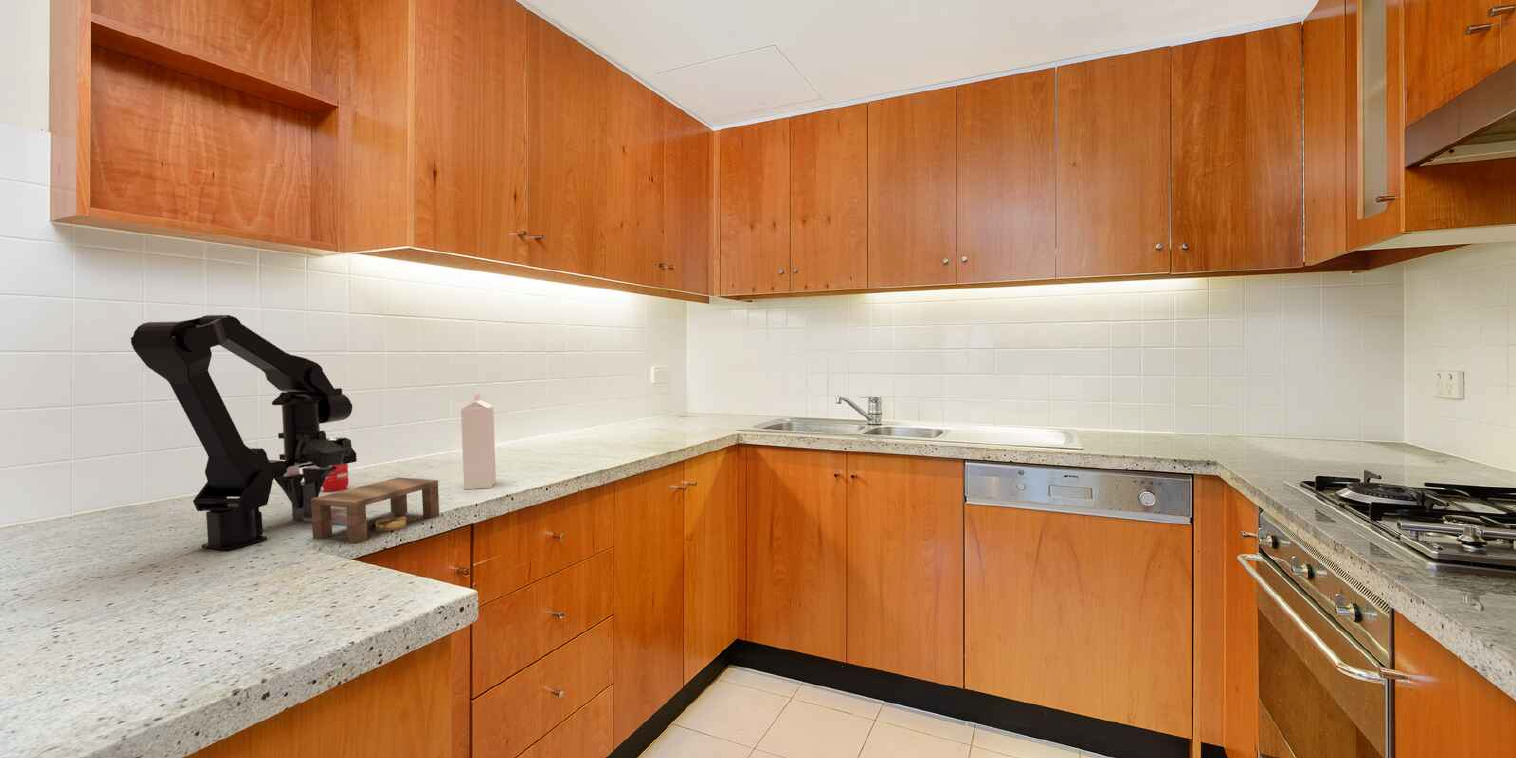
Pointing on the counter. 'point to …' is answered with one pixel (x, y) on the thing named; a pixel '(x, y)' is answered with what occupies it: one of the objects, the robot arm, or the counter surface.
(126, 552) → the counter surface
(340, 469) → the beverage can
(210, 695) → the counter surface
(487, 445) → the milk
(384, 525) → the brass token
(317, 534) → the walnut bench
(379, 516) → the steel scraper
